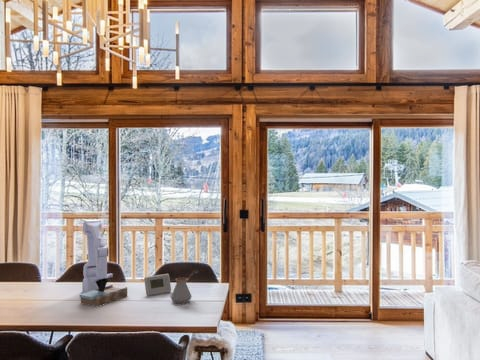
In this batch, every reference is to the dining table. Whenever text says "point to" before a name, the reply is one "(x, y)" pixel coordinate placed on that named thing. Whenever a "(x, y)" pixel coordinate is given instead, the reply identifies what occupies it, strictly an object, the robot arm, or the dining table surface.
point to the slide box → (106, 296)
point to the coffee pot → (181, 291)
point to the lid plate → (91, 294)
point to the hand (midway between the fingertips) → (101, 292)
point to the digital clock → (157, 284)
